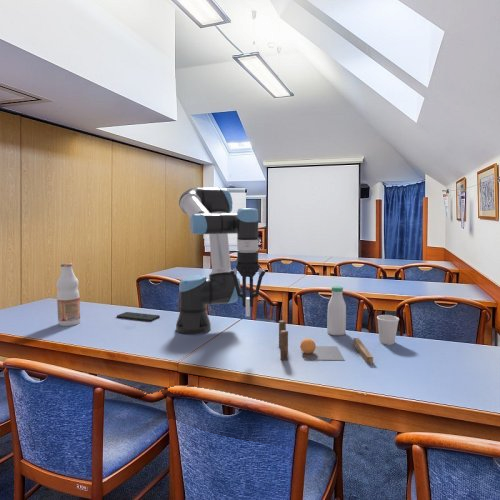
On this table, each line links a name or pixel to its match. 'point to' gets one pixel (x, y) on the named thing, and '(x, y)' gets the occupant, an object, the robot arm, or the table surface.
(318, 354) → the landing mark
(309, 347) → the ball
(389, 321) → the dixie cup
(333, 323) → the milk bottle
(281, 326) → the post
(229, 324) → the table surface
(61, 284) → the fruit juice
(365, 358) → the wall
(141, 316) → the smart home device
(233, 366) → the table surface
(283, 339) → the post
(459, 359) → the table surface
